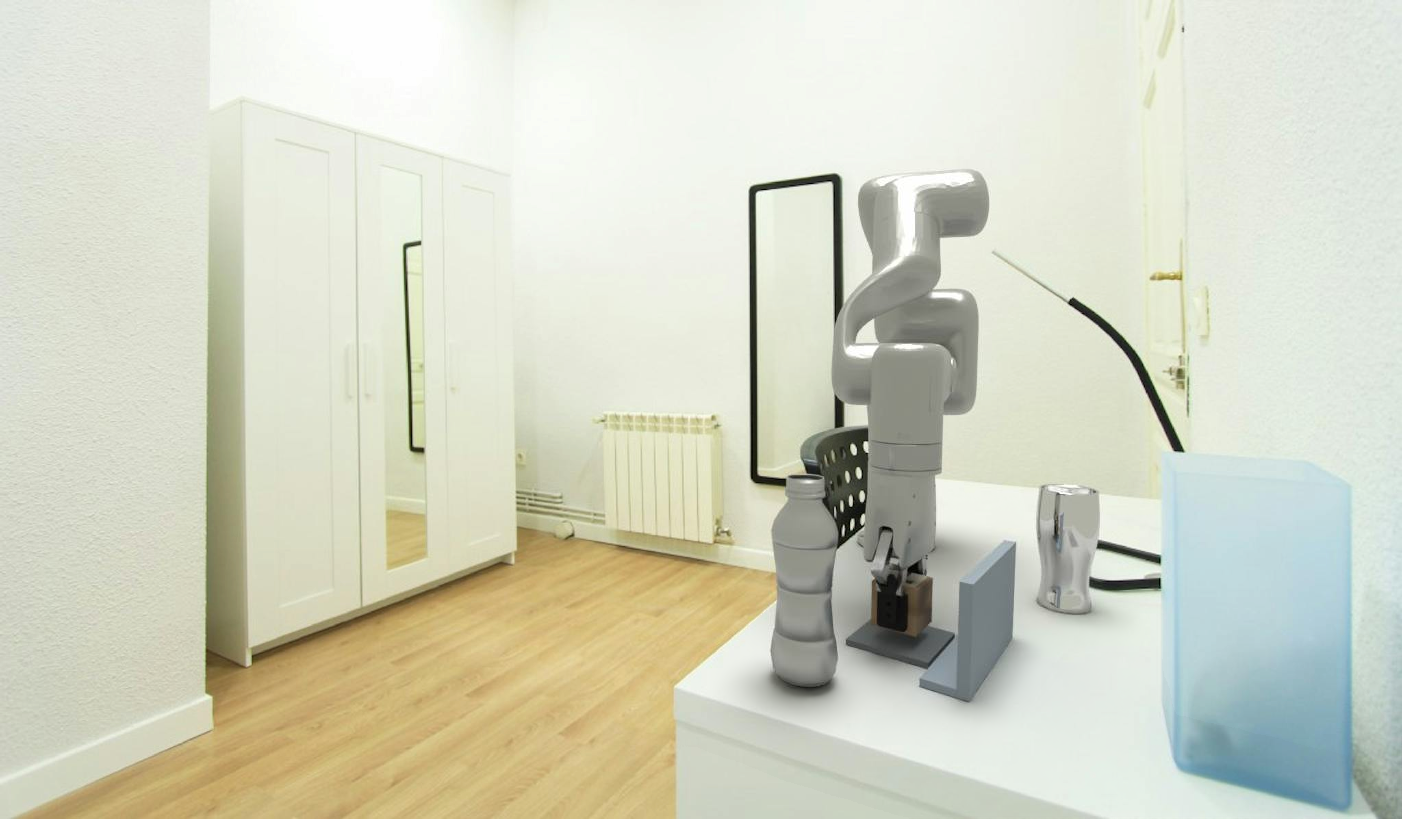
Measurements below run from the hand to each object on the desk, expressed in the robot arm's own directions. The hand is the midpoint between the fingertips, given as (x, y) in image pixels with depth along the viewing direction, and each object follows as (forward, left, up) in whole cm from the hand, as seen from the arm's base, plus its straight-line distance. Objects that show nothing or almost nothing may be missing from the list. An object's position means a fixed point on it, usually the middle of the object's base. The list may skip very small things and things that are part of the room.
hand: (901, 618), depth 71 cm
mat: (0, 0, -3) cm, 3 cm away
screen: (0, +7, -3) cm, 8 cm away
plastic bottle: (+14, -4, -3) cm, 15 cm away
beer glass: (-23, +13, -3) cm, 26 cm away
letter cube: (0, 0, -1) cm, 1 cm away
